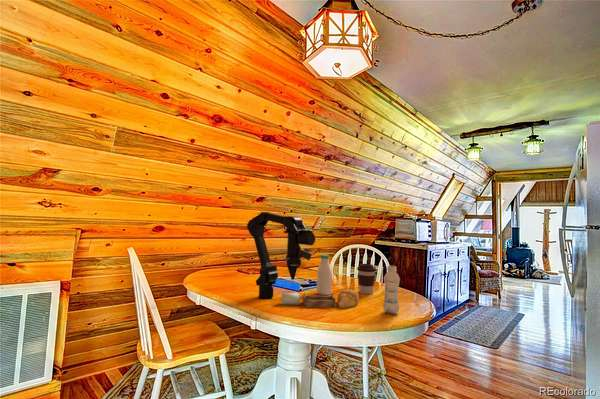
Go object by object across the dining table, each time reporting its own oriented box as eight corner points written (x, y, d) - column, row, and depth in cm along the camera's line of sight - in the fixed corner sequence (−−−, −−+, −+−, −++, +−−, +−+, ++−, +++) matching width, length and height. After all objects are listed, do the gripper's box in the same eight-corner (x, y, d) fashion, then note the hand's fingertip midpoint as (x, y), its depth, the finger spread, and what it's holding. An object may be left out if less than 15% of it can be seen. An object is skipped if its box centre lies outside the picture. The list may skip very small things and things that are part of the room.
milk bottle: (330, 295, 164) (331, 256, 165) (315, 294, 166) (316, 255, 166) (332, 292, 172) (333, 254, 172) (317, 291, 173) (318, 253, 174)
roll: (281, 305, 144) (281, 294, 144) (281, 302, 149) (281, 291, 149) (299, 306, 145) (300, 295, 145) (299, 303, 150) (299, 292, 150)
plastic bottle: (380, 310, 141) (381, 264, 142) (395, 310, 141) (396, 265, 142) (385, 315, 134) (386, 267, 135) (401, 315, 135) (402, 267, 136)
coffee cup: (354, 293, 170) (355, 265, 171) (358, 289, 179) (359, 262, 180) (373, 296, 166) (374, 266, 167) (376, 291, 175) (377, 264, 176)
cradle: (303, 306, 143) (304, 297, 143) (302, 301, 151) (303, 293, 151) (335, 307, 144) (335, 298, 144) (332, 302, 152) (332, 293, 152)
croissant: (346, 318, 140) (354, 303, 139) (327, 304, 144) (335, 289, 143) (360, 305, 159) (368, 292, 157) (343, 293, 163) (350, 280, 162)
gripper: (313, 246, 140) (311, 282, 139) (308, 242, 158) (307, 274, 158) (287, 245, 139) (286, 281, 138) (286, 241, 158) (285, 273, 157)
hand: (292, 277), depth 148 cm, fingers open, 9 cm apart
